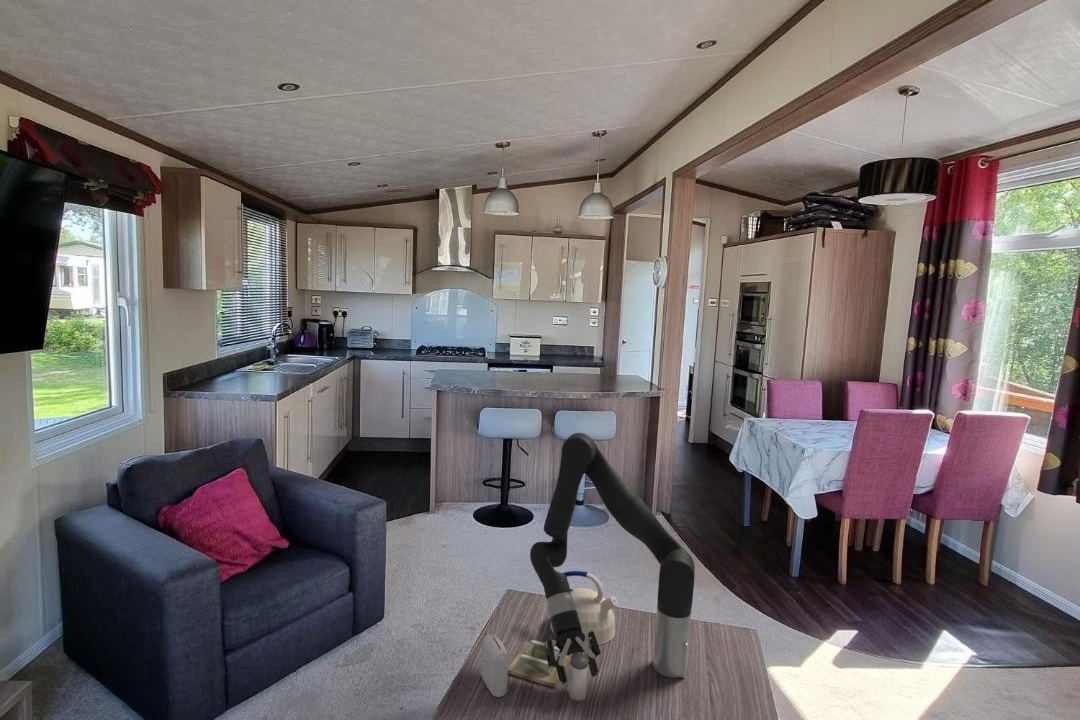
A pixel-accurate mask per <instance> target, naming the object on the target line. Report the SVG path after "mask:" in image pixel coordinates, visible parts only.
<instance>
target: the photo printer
mask: <svg viewBox="0 0 1080 720" xmlns="http://www.w3.org/2000/svg"><path fill="white" fill-rule="evenodd" d="M481 644H482V647H481V668H480V669H481V670H480V671H481V674H480V675H481V678H482V680H483V683H484V684H485V686H486V687H487V689H488V691H489V692H490V693H491V695H492V696H493V697H496V698H501V697H503V696H505V695H506V693H507V692H508V675H509V674H508V667H509V655H508V654H509V653H508V651H507V650H506V648H505V645H504V644H503V642H502V641H501V640H500V638H499V637H497V635H495V634H492V633H490V634H486V635H485V636H484V638H483V639H482V643H481Z"/></svg>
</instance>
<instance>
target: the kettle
mask: <svg viewBox="0 0 1080 720" xmlns="http://www.w3.org/2000/svg"><path fill="white" fill-rule="evenodd" d="M562 573H563V574H565V575H566V577H567V578H568V577H583V578H587V579H589V580H591V581H592V583H594V584H595V586H596V590H597V591H595V589H591V588H587V587H586V588H585V587H583V588H582V587H579V588H574V589H572V588H570V591H571V594H572V597H573V599H574V602H575V606H576V609H577V613H578V617H579V621H580V624H581V629H582V632H583V633H584V634H586V633H589V632H591V631H593V632H594V634H595V637H596V640H597V643H598V646H601V645H604V644H606V643H607V642H610V641H611V640H612V639H613V638H614V636H615V634H616V623H615V621H616V619H615V614H614V611H613V609H614V608H616V607H617V606H618V600H617V598H616V597H615V596H614V595H610V596H609V597H608V598H605V597H604V587H603V584H602V583H601V581H600V579H599V578H597V576H596V575H594V574H593V573H590V572H588V571H582V570H571V571H570V570H569V571H565V572H562ZM549 627H550V630H551V632H552V633H553V634H554V632H553V628H552V624H551V621H550V625H549ZM584 643H585V644H586V645H587V646H588V647H590V644H589V642H588V641H587V640H586V639H585V640H584Z"/></svg>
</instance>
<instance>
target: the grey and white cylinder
mask: <svg viewBox="0 0 1080 720" xmlns="http://www.w3.org/2000/svg"><path fill="white" fill-rule="evenodd" d="M571 655H572V656H571V662H570V664H569V665H570V666H569V667H570V668H569V669H570V670H569V684H568V696H569V698H570V699H571V700H574V701H578V702H581V701H583V700H585V699H586V696H587V684H588V683H587V682H588V668H589V664H588V661H589V660H588V657H587V656H586V655H585V654H582V653H575V654H571Z"/></svg>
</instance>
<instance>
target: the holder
mask: <svg viewBox="0 0 1080 720" xmlns="http://www.w3.org/2000/svg"><path fill="white" fill-rule="evenodd" d="M553 650H554V655H555V660H557V656H558V654H559V651H560V649H559V648H558V647H557V646H556V645H555V647H554V649H553ZM572 655H573V654H571V655H569V656H567V655H566V657H565V659H564V662H563V664H562V666H564V668H565V671H566V670H567V669H568V666H569V665H570V664H571V656H572ZM507 675H513V676H516V677H518V678H521V679H525V680H529V681H532V682H536V683H537V684H540V685H541V684H542V685H545V686H548V687H551V688H554V689H555V688H557V686H558V684H559V682H560V680H559V677H558V673H557V669H556V668H555V667H552V666H551V667H550V666H549V665H548V661H547V655H546V650H545V642H542V641H538V640H536V639H535V640H534V639H532V640H531V641H530V642H525V644H524V645H523V647H522V648H521V650H520V651H519V653H518V654H517V655H516V656H515V658H514V659H513V660H512V661H511V663H510V664H509V665H508V674H507Z"/></svg>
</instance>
